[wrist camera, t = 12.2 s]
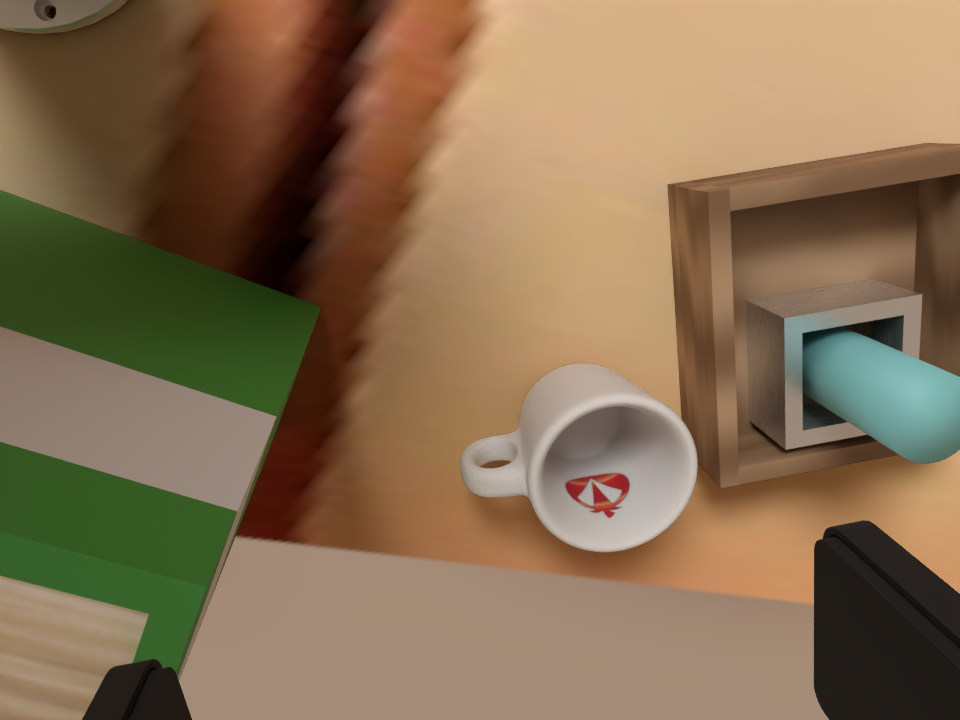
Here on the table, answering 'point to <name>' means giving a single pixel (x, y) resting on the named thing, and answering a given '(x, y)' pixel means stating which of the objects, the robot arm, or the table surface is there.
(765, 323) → the socket
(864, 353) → the plug
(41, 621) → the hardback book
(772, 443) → the box
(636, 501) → the cup
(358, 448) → the table surface
